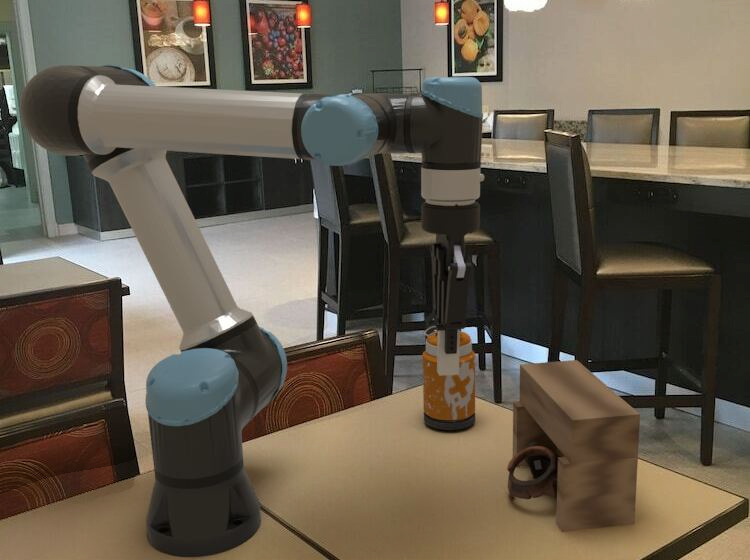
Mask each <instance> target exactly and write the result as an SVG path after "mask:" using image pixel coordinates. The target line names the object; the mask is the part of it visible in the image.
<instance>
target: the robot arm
mask: <svg viewBox="0 0 750 560" xmlns="http://www.w3.org/2000/svg"><path fill="white" fill-rule="evenodd" d="M482 86H483V85H482V84H481V81H479V80H478V79H477V78H476V77H473V76H468V77H467V76H465V77H464V76H462V77H461V76H460V77H459V76H457V77H456V76H455V77H454V76H452V77H449V76H448V77H447V76H446V77H426V78H425V79H424V80H423V81H422V87H421V89H420V92H415V93H370V92H369V93H367V92H365V93H363V92H351V93H342V94H326V93H324V94H323V93H321V94H320V93H300V92H299V93H298V92H275V91H261V90H260V91H259V90H258V91H257V90H256V91H255V90H254V91H253V90H238V89H237V90H236V89H214V88H195V87H194V88H193V87H192V88H191V87H175V86H174V87H173V86H157V85H156V84H155V83H154V82H153V81H152V80H151V79H150V78H149V77H147V76H146V75H145V74H143V73H141V72H140V71H138V70H135V69H132V68H128V67H124V66H120V65H116V64H115V65H111V64H107V65H106V64H105V65H104V64H103V65H100V66H96V65H71V64H63V65H62V64H61V65H53V66H50V67H47V68H45V69H43V70H40V71H39V72H37V73H36V74H34V76H33V77H32V78H31V79H30V80H28V82H27V83H26V84H25V87H24V89H23V91H22V92H21V97H20V101H19V114H20V118H21V122H22V124H23V125H22V126H23V128H24V129H25V130H26V132H27V134H28V135H29V136H30V138H31V139H32V140H33V141H34V142H35V143H36V144H37V145H38V146H40V147H41V148H42V149H44V150H46V151H48V152H51V153H53V154H57V155H60V156H66V157H68V156H71V157H72V156H73V157H74V156H75V157H76V156H83V158H84V160H85V161H86V164H87V166H88V168H89V170H90V171H91V174H92V175H93V176H94V177H96V178H99V179H102V180H104V181H106V182H108V183H109V185H110V187H111V189H112V191H113V194H114V195H115V197H116V199H117V201H118V203H119V206H120V207H121V209H122V212H123V214H124V215H125V218H126V219H127V221H128V223H129V225H130V228H131V230H132V232H133V233H134V236H135V238H136V240H137V242H138V244H139V246H140V248H141V250H142V252H143V254H144V256H145V258H146V260H147V262H148V263H149V266H150V268H151V270H152V271H153V272H152V273H153V274H154V276H155V278H156V281H157V282H158V284H159V287H160V288H161V290H162V292H163V294H164V296H165V298H166V300H167V302H168V304H169V306H170V308H171V310H172V313H173V315H174V316H175V319H176V321H177V322H178V325H179V327H180V329H181V330H182V334H183V335H182V338H181V341H180V344H179V347H178V349H179V350H180V352H181V353H179V354H174V353H173V354H171V355H169V356H167V357H164V358H163V359H161V360H160V361H159V362H157V363H156V364H155V365H154V366H153V367H152V368H151V369H150V370H149V373H148V375H147V377H146V380H145V381H146V382H145V387H146V388H145V408H146V411H147V416H148V424H149V426H148V427H149V435H150V444H151V452H152V461H153V462H152V463H153V470H154V485H153V488H152V492H151V497H150V500H149V506H148V508H147V513H146V518H145V519H146V520H145V525H146V534H147V540H148V542H149V543H150V545H151V547H153V548H155V549H156V550H158V551H160V552H161V553H163V554H166V555H170V556H177V557H186V558H187V557H188V558H189V557H190V558H191V557H192V558H195V557H196V558H197V557H205V556H206V557H207V556H212V555H215V554H220V553H222V552H226V551H229V550H231V549H233V548H236V547H238V546H240V545H242V544H243V543H245V542H246V541H247V540H249V539H251V537H252V536H254V535H255V533H256V532H257V531H258V529H260V528H259V527H260V525H261V522H262V513H261V504H260V501H259V500H260V499H259V497H258V495H257V493H256V491H255V488H254V487H253V484H252V482H251V480H250V477H249V475H248V473H247V471H246V468H245V465H244V464H245V463H244V450H243V437H242V434H243V433H242V431H243V428H244V427H245V426H246V425H248V424H249V423H250V422H251V421H252V420H253V418H255V416H256V415H257V414H258V413H260V411H262V409H264V408H265V407H267V406H268V405H269V404H271V402H273V400H274V399H275V398H276V396H277V394H278V393H279V391H280V390H281V388H282V387H283V385H284V383H285V380H286V377H287V372H288V360H287V354H286V351H285V348H284V347H283V344H282V343H281V342H280V340H279V338H278V337H276V335H275V334H273V333H272V332H271V331H267V330H266V329H264V327H260V326H259V325H258V322H257V321H256V320H257V319H256V317H255V316H254V314H253V313H252V312H251V311H248V310H247V309H246V310H245V309H243V308H240V307H239V306H238V305H237V303H236V301H235V299H234V296H233V294H232V293H231V291H230V289H229V286H228V284H227V283H226V280H225V278H224V276H223V274H222V272H221V269H220V267H219V266H218V264H217V261H216V260H215V257H214V255H213V253H212V251H211V249H210V248H209V245H208V243H207V241H206V239H205V237H204V235H203V232H202V231H201V229H200V227H199V224H198V223H197V220H196V219H195V216H194V215H193V211H192V210H191V208H190V206H189V204H188V202H187V200H186V198H185V196H184V194H183V192H182V190H181V187H180V185H179V184H178V181H177V179H176V177H175V175H174V173H173V170H172V169H171V167H170V165H169V163H168V160H167V157H166V156H167V155H166V154H167V153H168V152H170V151H171V152H182V153H183V152H185V153H200V154H201V153H202V154H216V155H230V156H231V155H233V156H244V157H245V156H246V157H247V156H249V157H250V156H251V157H262V158H263V157H264V158H265V157H266V158H277V159H278V158H279V159H280V158H281V159H294V160H306V161H316V162H320V163H322V164H324V165H326V166H333V167H335V166H336V167H337V166H338V167H339V166H342V167H344V166H346V167H348V166H351V165H355V164H357V163H359V162H360V161H362V160H364V159H367V158H369V157H372V156H376V155H377V154H378V155H379V154H421V169H420V170H421V175H420V176H421V177H420V178H421V179H420V180H421V183H420V185H421V186H420V187H421V188H420V189H421V190H420V196H421V197H422V198H423V199H424V200H425V201H423V202H422V204H421V213H420V214H421V215H420V216H421V217H420V219H421V223H420V224H421V229H422V230H423V232H426V233H429V234H433V235H435V243H432V244H431V245H430V247H429V251H430V255H431V268H432V269H431V272H432V287H433V288H432V296H433V311H432V312H434V315H435V316H437V319H436V322H437V324H438V325H436V330H435V331H438V333H437V373H438V374H439V376H443V375H459V346H460V329H461V330H465V328H466V327H465V324H466V316H467V315H466V314H467V305H468V304H467V303H468V295H469V285H470V284H469V281H470V277H471V272H472V268H473V267H472V263H471V262H467V261H468V259H469V248H468V246H467V245H466V242H465V241H466V239H465V236H466V235H468V234H473V233H476V232H478V231H479V229H480V225H481V224H480V219H481V218H480V217H481V205H480V204H479V202H478V201H476V200H478V199H479V198H480V197H481V182H484V180H485V175H484V174H483V173H481V167H482V146H483V145H482V143H483V118H484V113H483V94H482V93H483V88H482ZM167 151H168V152H167Z"/></svg>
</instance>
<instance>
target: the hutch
mask: <svg viewBox="0 0 750 560" xmlns="http://www.w3.org/2000/svg"><path fill="white" fill-rule="evenodd" d="M640 422H641V413H639V411H637V410H636V409H635V408H634V407H632V406H631V405H630V404H629V403H628V402H627V401H625V400H624V399H623V397H621V396H619V394H617V393H616V392H615V391H613V389H611V388H610V386H608V385H607V384H606V383H604V382H603V381H602V380H601V379H600V378H599V377H597V376H596V375H595V374H594V373H593V372H592V371H590V369H588V368H587V367H586V366H584V365H583V364H582V362H580V361H579V360H578V359H572V360H571V359H570V360H560V361H547V362H535V363H523V364H521V363H520V364H519V401H513V403H512V458H513V457H514V456H515V455H516V454H517V453H519V452H520V451H522V450H524V449H526V448H527V446H528V445H529V444H530V443H533V442H538V443H540V445H541V446H542V447H546V448H547V449H550V450H551V451H552V452H553V453H556V454H558V455H559V456H561V457H558V476H557V485H556V518H555V519H556V520H555V521H556V523H555V524H556V525H557V528H559V530H560V531H561V532H563V533H564V532H571V531H572V532H573V531H574V532H575V531H581V530H591V529H593V530H594V529H601V528H610V527H621V526H629V525H631V526H632V525H635V518H636V517H635V516H636V499H637V497H636V496H637V481H638V480H637V479H638V464H639V463H638V461H639V442H640V441H639V440H640V424H641V423H640ZM546 458H549V459H550V457H549V456H547V457H546ZM520 466H525V467H529V466H528V465H527V463H526V462H525V459H524V460H523V461H522V462H520V463H519V464H518V466H517V467H516V468H521V467H520Z"/></svg>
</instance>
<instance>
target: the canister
mask: <svg viewBox="0 0 750 560" xmlns="http://www.w3.org/2000/svg"><path fill="white" fill-rule="evenodd" d="M436 319H437V316H435V315H434V312H433V311H432V312H430V313H429V314H428V315H427V316H426V317H424V321H425V322H424V323H425V327H426V330H425V331H424V332H423V334H424V335H425V336H426V340H425V350H424V351H423V352H422V387H423V388H422V389H423V391H422V393H423V400H422V401H423V421H424V422H425V424H426V425H428V426H430V427H433V428H436V429H439V430H444V431H455V430H461V429H465V428H468V427H470V426H471V425H473V424H475V421H476V353H475V351H474V350H473V341H472V338H471V336H470V335H469V334H468V333H467V332H464V331H462V329H460V346H459V375H443V376H439V374H438V373H437V333H438V331H436V325H438V324H437V322H436ZM431 321H433V324H429V323H430V322H431ZM465 328H466V323H465Z"/></svg>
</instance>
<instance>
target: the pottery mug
mask: <svg viewBox="0 0 750 560" xmlns="http://www.w3.org/2000/svg"><path fill="white" fill-rule="evenodd" d="M547 456H549V457H550V459H549V458H546V457H547ZM558 457H561V456H559V455H558V454H556V453H553V452H552V451H551V450H550V449H547V448H546V447H542V446H541V445H540V443H538V442H533V443H530V444H529V445H528V446H527V448H526V449H524V450H522V451H520V452H519V453H517V454H516V455H515V456H514V457H513V456H512V458H511V459H510V461H509V462H508V465H507V468H506V469H507V471H508V480H507V490H508V493H509V496H510V498H511V499H514V498H519V499H521V500H522V499H524V500H531V499H532V498H533V499H537V498H540V497H542V496H544V495H545V496H546V495H549V496H552V497H554V496H556V493H555V489H554V486H557V476H558ZM524 459H525V462H526V463H527V465H528V466H527V467H528V468H529V471H530V473H531V475H532V480H521V479H519V478H517V477H515V476H514V473H515V469H516V468H518V467H517V466H518V464H519V463H520V462H522V461H523V460H524Z"/></svg>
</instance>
